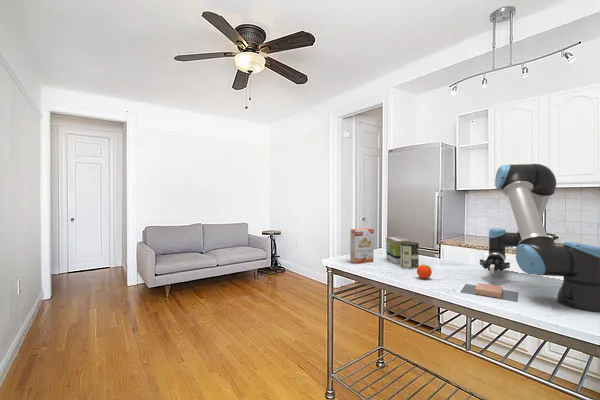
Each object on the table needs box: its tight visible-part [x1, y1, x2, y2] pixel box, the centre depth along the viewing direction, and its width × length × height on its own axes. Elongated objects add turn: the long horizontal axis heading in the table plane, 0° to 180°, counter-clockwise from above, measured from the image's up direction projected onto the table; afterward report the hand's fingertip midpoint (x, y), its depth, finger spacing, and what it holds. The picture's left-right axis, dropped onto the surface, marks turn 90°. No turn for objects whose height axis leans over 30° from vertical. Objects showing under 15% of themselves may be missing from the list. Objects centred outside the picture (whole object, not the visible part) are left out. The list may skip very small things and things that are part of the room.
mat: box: [459, 283, 519, 303], centre depth 128 cm, size 20×15×1 cm
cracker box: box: [349, 227, 375, 264], centre depth 189 cm, size 14×6×21 cm, turn 113°
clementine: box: [416, 264, 432, 280], centre depth 151 cm, size 8×7×7 cm
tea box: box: [385, 236, 412, 265], centre depth 189 cm, size 15×10×15 cm, turn 6°
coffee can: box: [399, 241, 420, 270], centre depth 175 cm, size 10×10×14 cm
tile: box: [475, 282, 504, 298], centre depth 127 cm, size 9×2×10 cm
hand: (491, 270), depth 137 cm, fingers closed
